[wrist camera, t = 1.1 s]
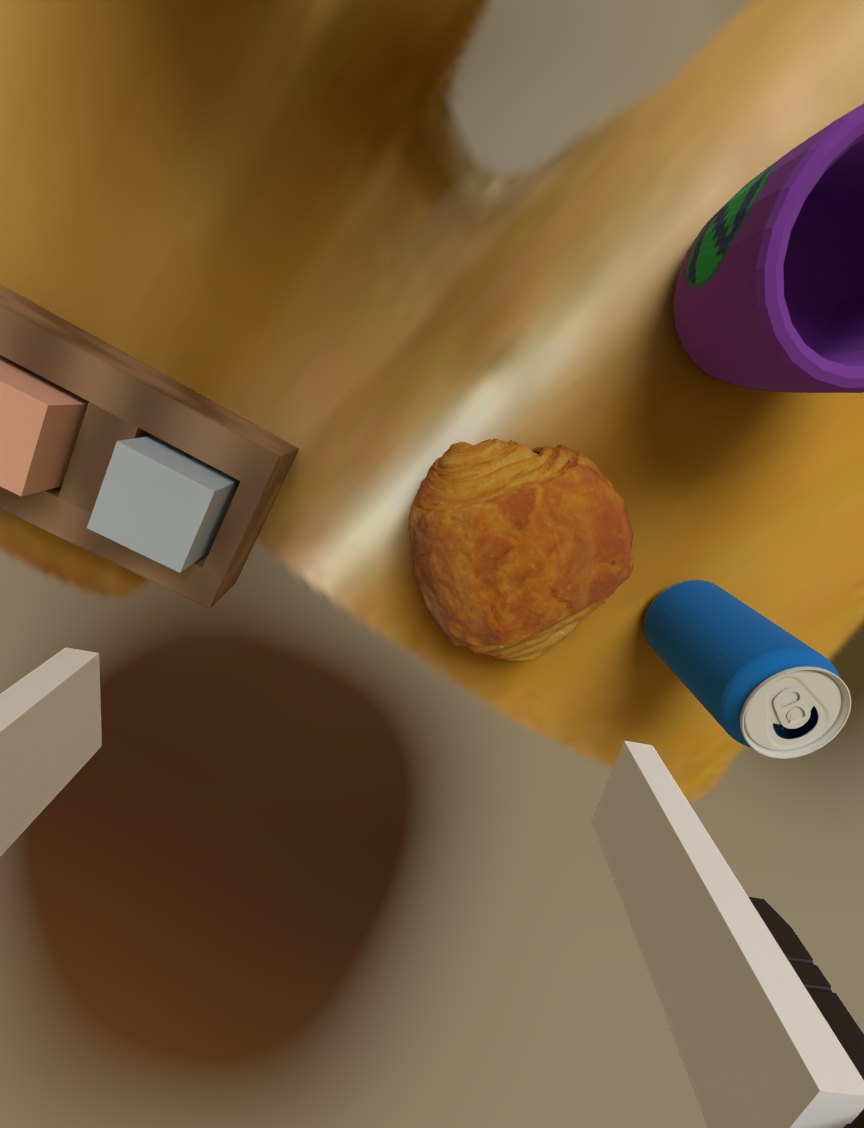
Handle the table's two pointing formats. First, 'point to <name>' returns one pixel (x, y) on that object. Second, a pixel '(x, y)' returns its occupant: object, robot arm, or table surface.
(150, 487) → the slate key
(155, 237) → the table surface
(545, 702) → the table surface
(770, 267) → the mug
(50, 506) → the key block
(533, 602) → the pastry
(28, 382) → the terracotta key
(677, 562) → the table surface
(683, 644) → the beverage can
